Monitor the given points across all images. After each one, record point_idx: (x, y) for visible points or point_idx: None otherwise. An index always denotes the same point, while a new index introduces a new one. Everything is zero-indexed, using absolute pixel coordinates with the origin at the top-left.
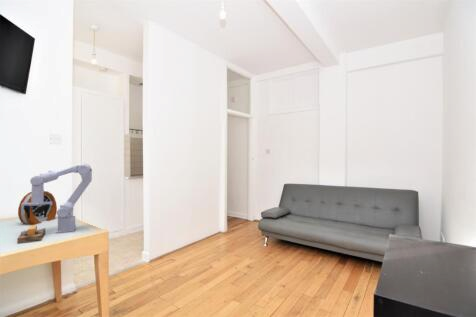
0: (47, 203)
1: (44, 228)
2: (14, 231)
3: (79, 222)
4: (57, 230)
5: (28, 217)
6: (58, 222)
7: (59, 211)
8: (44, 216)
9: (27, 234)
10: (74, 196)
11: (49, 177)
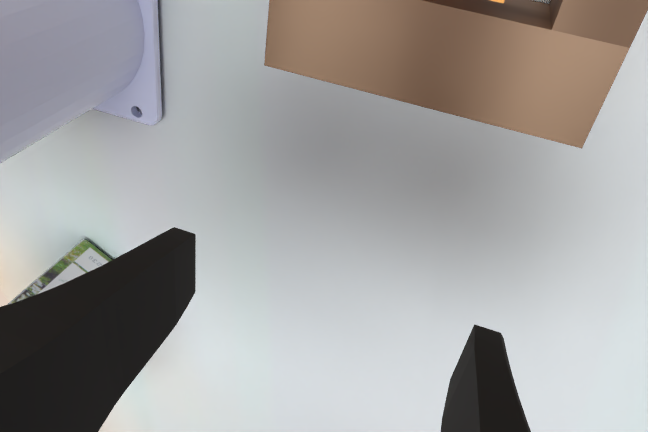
0: None
1: (276, 63)
2: (611, 397)
3: (7, 275)
4: (140, 17)
5: (489, 347)
6: (16, 11)
7: None
8: (177, 239)
9: (544, 13)
10: None
11: None
